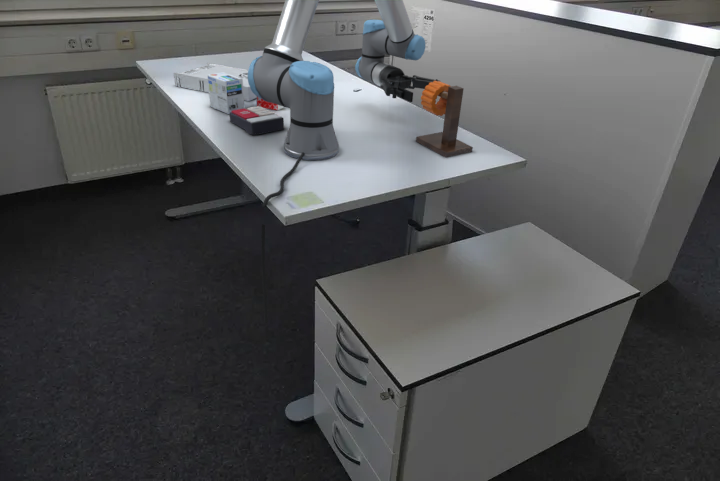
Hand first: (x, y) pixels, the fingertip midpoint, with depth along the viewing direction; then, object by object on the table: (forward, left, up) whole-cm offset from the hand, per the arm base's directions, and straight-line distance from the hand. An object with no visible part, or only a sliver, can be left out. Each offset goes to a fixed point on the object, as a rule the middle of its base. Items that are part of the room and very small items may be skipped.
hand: (430, 94), depth 165 cm
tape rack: (-5, -6, -13) cm, 15 cm away
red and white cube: (+3, +55, -13) cm, 57 cm away
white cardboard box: (+13, +81, -13) cm, 83 cm away
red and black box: (-17, +49, -13) cm, 54 cm away
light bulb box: (-8, +66, -13) cm, 68 cm away
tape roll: (-2, -3, -5) cm, 6 cm away
